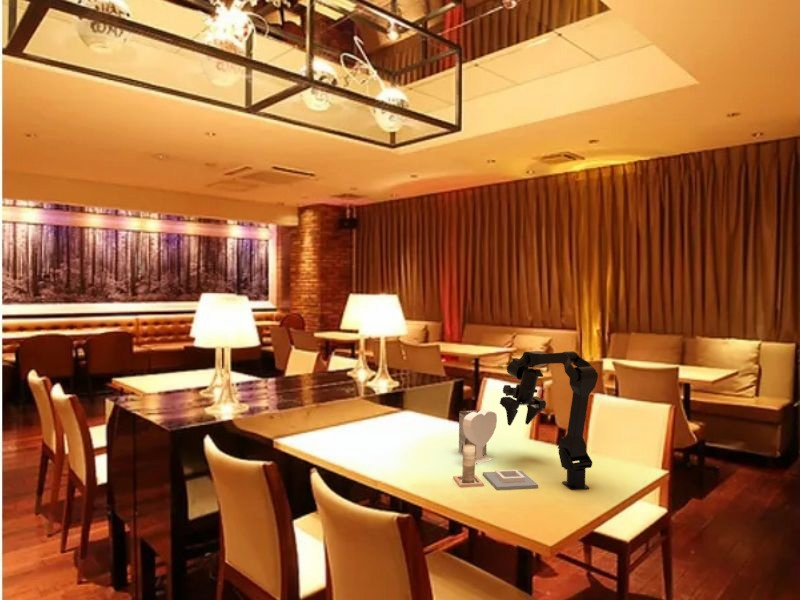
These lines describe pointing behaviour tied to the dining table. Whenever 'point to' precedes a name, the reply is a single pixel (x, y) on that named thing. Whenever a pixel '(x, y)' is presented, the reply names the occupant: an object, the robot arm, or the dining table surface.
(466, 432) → the heart sculpture
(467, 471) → the birch pin
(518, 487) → the board
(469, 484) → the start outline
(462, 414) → the coffee box
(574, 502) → the dining table surface
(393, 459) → the dining table surface
